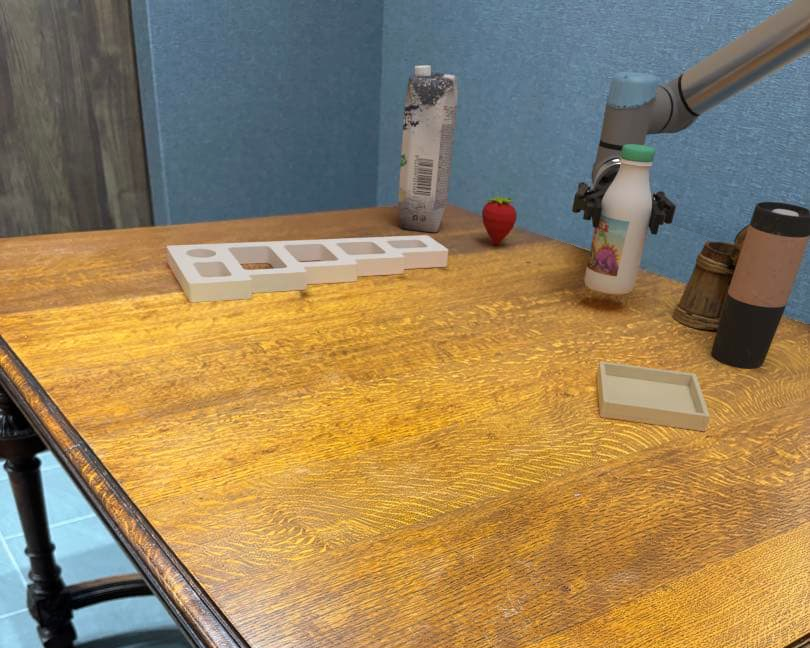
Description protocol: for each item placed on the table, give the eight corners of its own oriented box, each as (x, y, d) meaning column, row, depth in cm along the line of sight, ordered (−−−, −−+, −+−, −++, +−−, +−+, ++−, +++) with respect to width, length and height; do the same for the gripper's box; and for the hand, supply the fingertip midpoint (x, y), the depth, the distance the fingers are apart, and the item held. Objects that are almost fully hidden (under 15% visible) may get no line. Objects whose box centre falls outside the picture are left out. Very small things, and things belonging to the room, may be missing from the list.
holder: (426, 250, 144) (427, 235, 143) (471, 283, 131) (473, 267, 130) (167, 263, 128) (166, 245, 127) (190, 302, 115) (189, 283, 114)
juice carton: (446, 221, 162) (461, 66, 146) (441, 235, 154) (457, 72, 138) (402, 216, 163) (413, 61, 147) (394, 230, 154) (405, 66, 138)
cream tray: (691, 388, 104) (696, 373, 103) (705, 431, 94) (710, 416, 93) (596, 375, 105) (599, 360, 104) (599, 416, 95) (603, 401, 94)
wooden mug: (705, 344, 118) (745, 214, 107) (663, 310, 128) (695, 189, 118) (759, 343, 120) (804, 216, 109) (713, 310, 130) (749, 191, 120)
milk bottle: (619, 279, 130) (650, 142, 118) (642, 295, 124) (677, 152, 112) (575, 279, 128) (602, 140, 116) (596, 296, 122) (627, 151, 110)
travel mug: (699, 355, 114) (744, 205, 102) (724, 343, 118) (771, 198, 107) (749, 374, 110) (803, 220, 98) (774, 361, 114) (828, 212, 103)
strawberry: (491, 251, 147) (499, 193, 142) (471, 239, 153) (478, 183, 147) (519, 250, 150) (528, 192, 144) (498, 238, 155) (506, 182, 149)
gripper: (559, 156, 133) (559, 185, 114) (687, 170, 131) (707, 201, 113) (551, 204, 137) (550, 239, 119) (674, 218, 135) (692, 256, 117)
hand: (626, 221), depth 116 cm, fingers closed on milk bottle, 8 cm apart
